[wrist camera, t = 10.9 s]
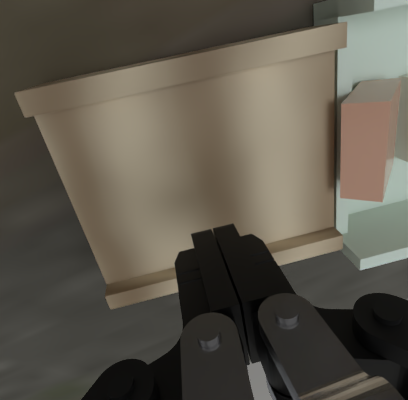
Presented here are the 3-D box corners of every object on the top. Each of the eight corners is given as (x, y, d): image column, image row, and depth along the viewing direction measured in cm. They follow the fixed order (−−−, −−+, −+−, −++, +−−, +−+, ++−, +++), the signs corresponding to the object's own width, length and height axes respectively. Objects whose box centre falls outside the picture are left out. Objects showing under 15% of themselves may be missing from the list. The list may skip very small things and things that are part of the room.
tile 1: (339, 198, 17) (382, 202, 16) (341, 103, 15) (391, 101, 13) (357, 161, 20) (393, 163, 19) (361, 81, 18) (401, 77, 17)
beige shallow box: (116, 266, 21) (110, 309, 18) (43, 83, 16) (13, 92, 12) (311, 217, 22) (342, 249, 19) (305, 27, 17) (347, 21, 13)
